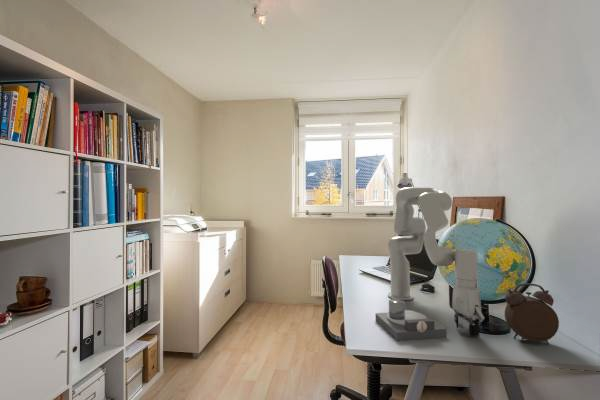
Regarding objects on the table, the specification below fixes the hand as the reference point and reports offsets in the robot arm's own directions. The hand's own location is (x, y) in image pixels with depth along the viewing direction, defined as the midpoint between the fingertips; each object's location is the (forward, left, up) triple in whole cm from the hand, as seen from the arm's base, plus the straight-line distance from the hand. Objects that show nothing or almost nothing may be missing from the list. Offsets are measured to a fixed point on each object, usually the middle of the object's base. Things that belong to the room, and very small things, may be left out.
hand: (467, 331), depth 109 cm
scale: (-8, -19, -1) cm, 21 cm away
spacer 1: (-10, -23, +3) cm, 25 cm away
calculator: (-29, +18, -1) cm, 34 cm away
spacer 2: (0, 0, -1) cm, 1 cm away
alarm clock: (+9, +17, -1) cm, 19 cm away
